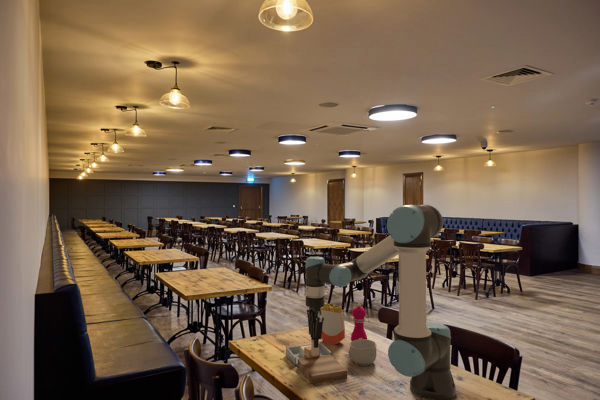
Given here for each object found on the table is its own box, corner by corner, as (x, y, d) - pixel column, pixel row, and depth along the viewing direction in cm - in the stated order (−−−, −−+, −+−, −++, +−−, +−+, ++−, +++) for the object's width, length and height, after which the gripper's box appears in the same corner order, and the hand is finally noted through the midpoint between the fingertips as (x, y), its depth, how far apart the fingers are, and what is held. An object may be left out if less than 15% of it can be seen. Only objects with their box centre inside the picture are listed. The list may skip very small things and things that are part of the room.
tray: (331, 360, 165) (331, 352, 165) (294, 366, 159) (294, 357, 159) (320, 350, 176) (320, 342, 176) (286, 355, 170) (286, 347, 170)
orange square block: (320, 356, 162) (319, 348, 162) (308, 357, 160) (308, 350, 161) (315, 353, 167) (315, 345, 167) (304, 354, 165) (304, 347, 165)
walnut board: (347, 378, 149) (347, 370, 149) (312, 384, 144) (312, 375, 144) (329, 361, 164) (330, 354, 164) (297, 366, 159) (297, 359, 159)
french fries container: (324, 338, 191) (324, 300, 191) (345, 342, 185) (345, 304, 185) (319, 341, 187) (319, 302, 187) (340, 346, 181) (340, 306, 181)
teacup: (376, 369, 157) (376, 349, 157) (348, 367, 159) (348, 347, 159) (376, 355, 170) (376, 337, 170) (351, 353, 172) (351, 335, 172)
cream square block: (315, 356, 167) (315, 349, 167) (304, 358, 165) (304, 350, 165) (311, 352, 172) (311, 345, 172) (300, 353, 170) (300, 346, 170)
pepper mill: (352, 344, 183) (352, 300, 183) (368, 346, 181) (368, 302, 181) (349, 350, 176) (349, 305, 176) (365, 352, 174) (365, 306, 174)
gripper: (300, 293, 165) (300, 350, 165) (312, 300, 153) (312, 362, 153) (317, 291, 168) (317, 347, 168) (330, 298, 156) (330, 359, 156)
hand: (314, 354), depth 161 cm, fingers closed
